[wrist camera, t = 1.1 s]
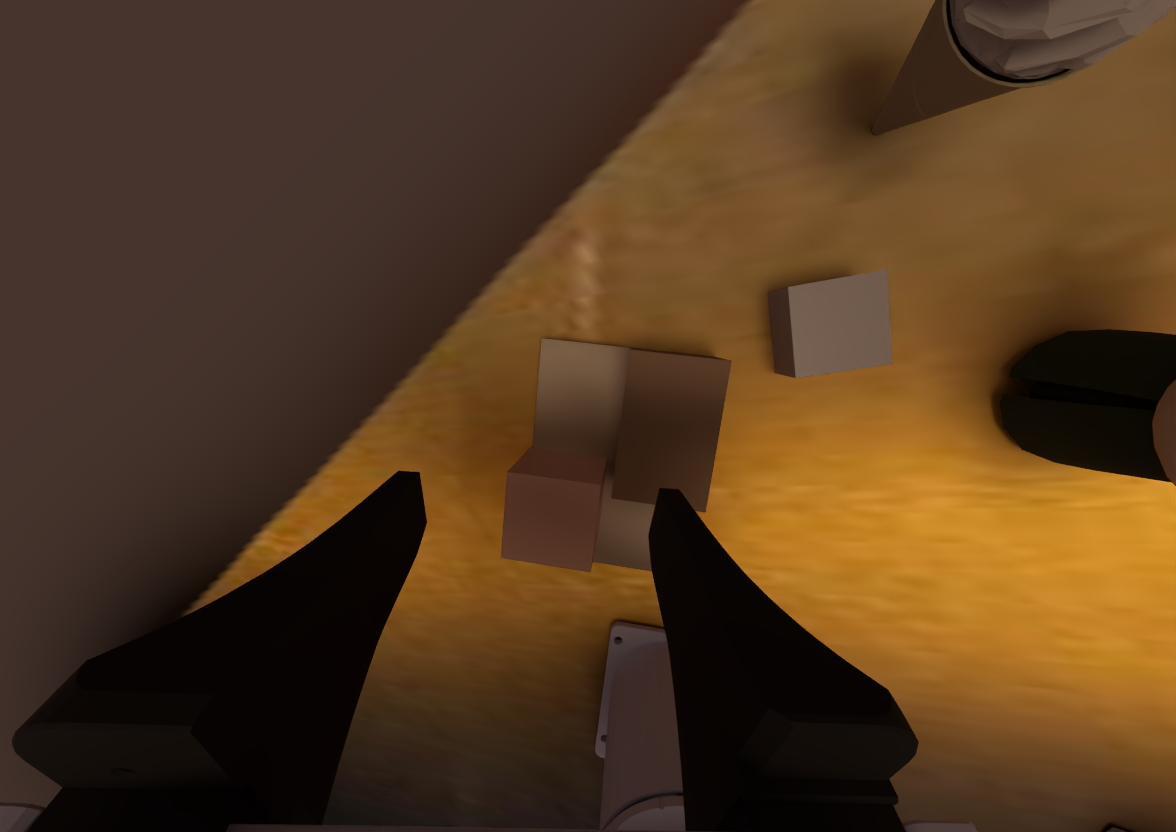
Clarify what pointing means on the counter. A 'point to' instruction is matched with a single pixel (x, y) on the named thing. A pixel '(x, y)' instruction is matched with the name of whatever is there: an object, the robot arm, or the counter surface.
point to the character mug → (1099, 402)
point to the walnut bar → (669, 426)
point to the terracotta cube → (553, 509)
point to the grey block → (831, 325)
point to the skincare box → (1115, 830)
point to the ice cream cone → (1006, 50)
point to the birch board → (592, 434)
